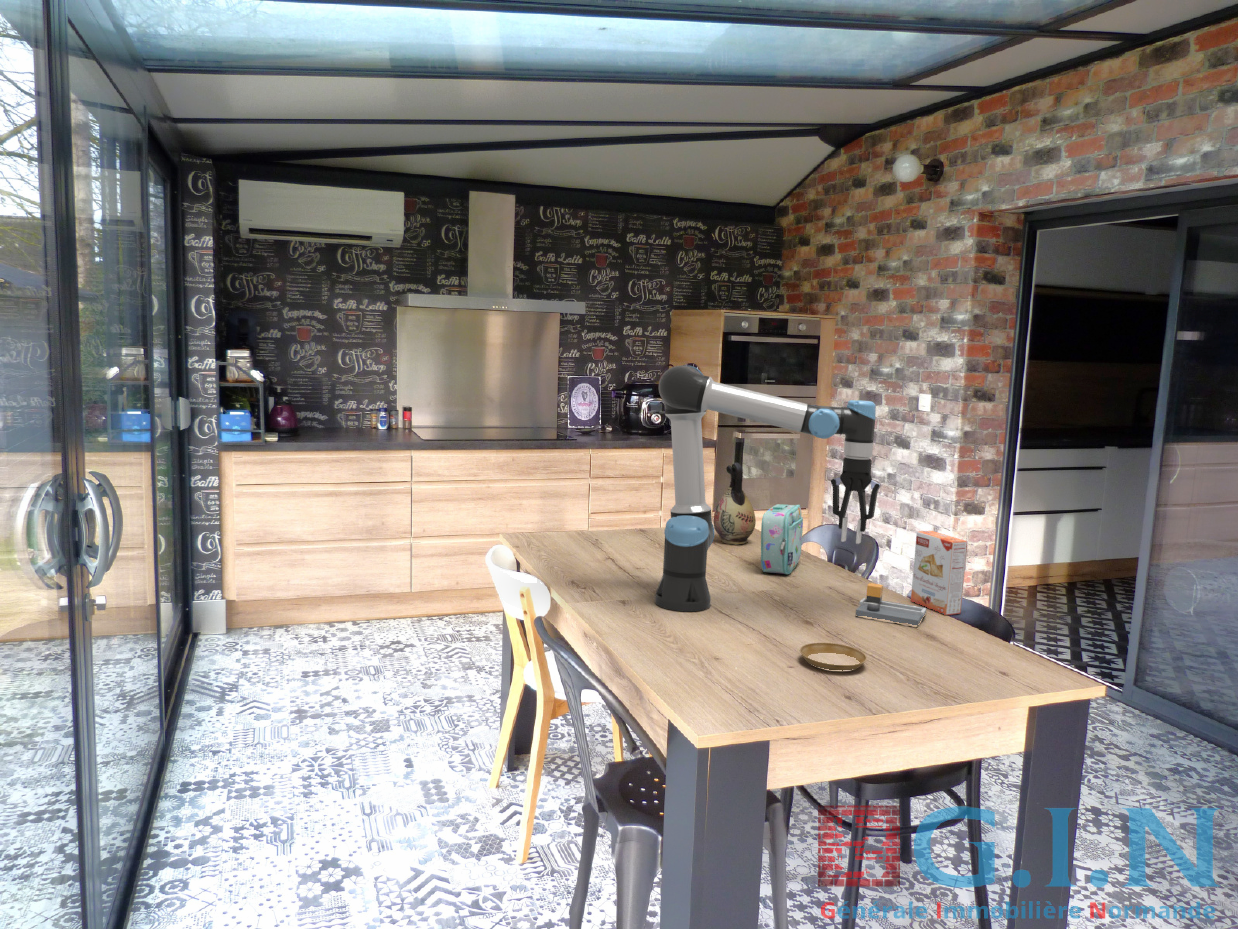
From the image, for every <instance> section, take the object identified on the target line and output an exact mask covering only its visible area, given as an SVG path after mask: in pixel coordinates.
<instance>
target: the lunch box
mask: <svg viewBox="0 0 1238 929" xmlns="http://www.w3.org/2000/svg"><path fill="white" fill-rule="evenodd" d="M760 527H761V529H760V530H761V531H760V567H761V570H762V573H763V572H764V573H771V574H782V575H790V574H791V573H792V572H793V571H794V569H795V568H796V567H797V565H798V563H799V561H800V558H801V554H802V542H803V529H804V518H803V516H802V508H801V505H800V504H777V503H776V504H775V505H773V506H772V507H770V508H768V509H766V511H765V512H764V514H763V515H762V519H761V526H760Z"/></svg>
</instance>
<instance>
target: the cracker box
mask: <svg viewBox="0 0 1238 929" xmlns="http://www.w3.org/2000/svg"><path fill="white" fill-rule="evenodd" d="M914 547H915V548H914V557H913V558H914V560H913V572H912V583H911V591H910V592H911V593H910V602H912V603H914V602H915V603H914V604H917V605H919V604H920V605H919V606H921V605H922V606H921V607H924V606H925V607H924V608H926V607H927V609H929V610H931V609H933V610H932V611H934V610H935V611H934V612H936V611H938V612H939V614H941V613H944V615H943V616H953V615H960V614H961V612H962V604H963V603H962V602H963V593H964V591H963V590H964V581H965V572H966V562H967V553H968V552H967V551H968V540H966V539H965V540H964V539H961V538H958V537H954V536H951V535H949V534H944V533H941V532H938V531H933V530H919V531H916V538H915V546H914ZM960 598H961V599H960ZM938 612H937V613H938Z"/></svg>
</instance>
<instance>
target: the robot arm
mask: <svg viewBox="0 0 1238 929" xmlns="http://www.w3.org/2000/svg"><path fill="white" fill-rule="evenodd" d="M658 392H659V395H660V397H661V399H662V401H663V402H664V415H665V416H666V417H667V418H668V419H669V420H670V428H671V430H670V431H671V446H672V447H671V448H672V467H673V483H674V484H673V486H674V500H675V501H674V502H675V504H674V505H673V507H671V509H670V518H669V519H668V520H667V521H666V524H665V528H664V548H663V564H662V565H663V568H662V575H661V576H662V577H661V579H660V581H659V585H658V587H657V589H656V591H655V594H654V596H655V597H654V603H655V604H656V605H657V606H659V608H663V609H666V610H669V611H670V610H671V611H676V612H698V611H699V612H701V611H705V610H707V609H710V607H711V603H712V602H711V600H712V599H711V593H710V590H709V586H708V581H707V578H706V576H707V574H706V573H707V561H708V560H707V559H708V550H709V549H710V547H711V545H712V544H713V542H714V538H715V529H714V523H713V518H712V517H713V516H712V515H713V514H712V507H711V506H710V505H709V504H708V503H707V502H706V489H705V488H706V487H705V486H706V485H705V483H706V482H705V469H704V468H705V467H704V447H703V446H704V445H703V430H702V429H703V427H702V426H703V425H702V418H703V417H704V416H705V415H706V414H707V411H708V410H709V411H711V412H715V413H721V414H724V415H729V416H733V417H737V418H742V419H745V420H749V421H753V422H757V423H761V424H765V425H766V424H767V425H771V426H774V427H779V428H783V429H785V430H786V429H787V430H791V431H796V432H799V433H803V434H807V435H810V436H814V437H815V438H818V439H821V440H822V439H825V440H826V439H829V438H831V437H833V436H834V435H841V436H845V437H844V446H843V455H844V457H843V459H842V472H841V474H840V475H839V477H836V478H835V477H833V478H832V479H830V483H831V486H832V515H836V516H837V517H838V529H839V530H841V538H840V542H843V543H844V542H846V541H847V532H848V524H849V523H848V520H849V517H848V516H847V511H848V510H847V509H848V506H849V502H850V499H851V495H852V492H856V493H857V495H858V496H857V497H858V501H859V502H858V503H859V504H858V505H859V516H860V518H859V519H858V520H857V526H856V538H855V544H856V545H860V544H861V542H862V534H863V533H864V532H865V531H866V530H867V520H871V519H872V518H874V516H875V510H876V505H877V498H878V494H879V493H878V492H879V491H880V489H881V486H882V483H880V482H877V481H875V480H873V477H872V463H873V461H872V459H871V458H872V457H873V450H874V438H875V427H876V413H877V412H876V411H877V410H876V409H877V408H876V406H877V405H876V404H875V403H874V402H873V401H870V400H854V399H852V400H848V401H847V404H846V406H841V407H840V406H832V405H831V406H830V405H817V404H813V405H812V404H809V403H804V402H800V401H798V400H797V401H796V400H791V399H787V398H784V397H781V396H780V397H779V396H776V395H771V394H766V393H762V392H758V391H756V390H755V391H754V390H751V389H750V390H749V389H745V388H742V387H737V386H733V385H730V384H726V383H725V384H724V383H721V382H717V381H715V380H714V379H713V378H712V376H708V375H705V374H704V373H702V372H701V370H700V369H698V368H697V367H694V366H692V365H691V364H690V365H686V364H685V365H684V364H683V365H676V366H671V367H670V368H668V369H667V370H665V371H664V373H662V375H661V377H660V379H659V381H658ZM841 483H842V484H843V486H844V488H845V489H844V494H843V497H842V503H841V506H840V485H841ZM869 486H870V489H871V492H870V499H869V505H868V510H867V502H866V489H867V488H868V487H869ZM704 609H705V610H704Z"/></svg>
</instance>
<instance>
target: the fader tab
mask: <svg viewBox="0 0 1238 929" xmlns="http://www.w3.org/2000/svg"><path fill="white" fill-rule="evenodd" d="M883 591H884V585H883V584H877V583H874V582H873V583H872V582H869V583H868V584H867V586H866V602H868V603H870V602H873V603H878V604H880V605H881V603H882V601H883Z"/></svg>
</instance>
